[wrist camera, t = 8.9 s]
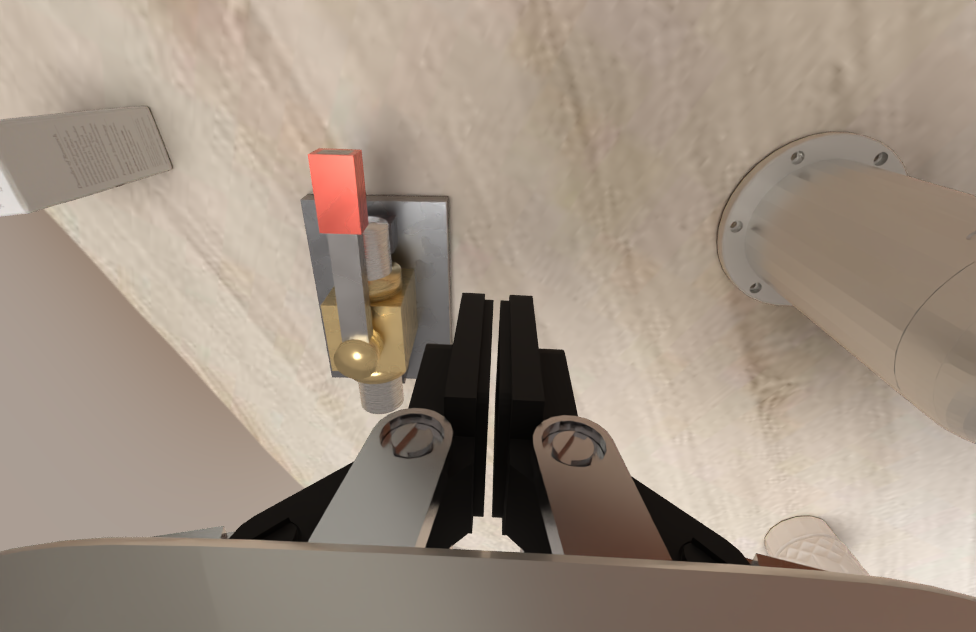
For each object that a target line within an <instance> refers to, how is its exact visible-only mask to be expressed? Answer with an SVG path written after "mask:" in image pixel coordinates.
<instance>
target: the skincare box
mask: <svg viewBox="0 0 976 632" xmlns="http://www.w3.org/2000/svg"><path fill="white" fill-rule="evenodd" d="M171 169H172V166H171V163H170V160H169V157H168V154H167V152H166V149H165V146H164V144H163V141H162V139H161V136H160V134H159V131H158V129H157V126H156V124H155V122H154V119H153V117H152V115H151V112H150V110H149V108H148V107H146V106H138V107H123V108H110V109H98V110H88V111H78V112H67V113H58V114H49V115H39V116H29V117H19V118H10V119H1V120H0V217H2V216H11V215H18V214H29V213H32V212H35V211H38V210H41V209H44V208H48V207H51V206H54V205H58V204H61V203H65V202H69V201H72V200H76V199H79V198H82V197H86V196H89V195H92V194H95V193H99V192H102V191H105V190H108V189H111V188H114V187H118V186H122V185H124V184H127V183H131V182H134V181H137V180H140V179H143V178H147V177H150V176H153V175H156V174H159V173H162V172H166V171H169V170H171Z"/></svg>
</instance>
